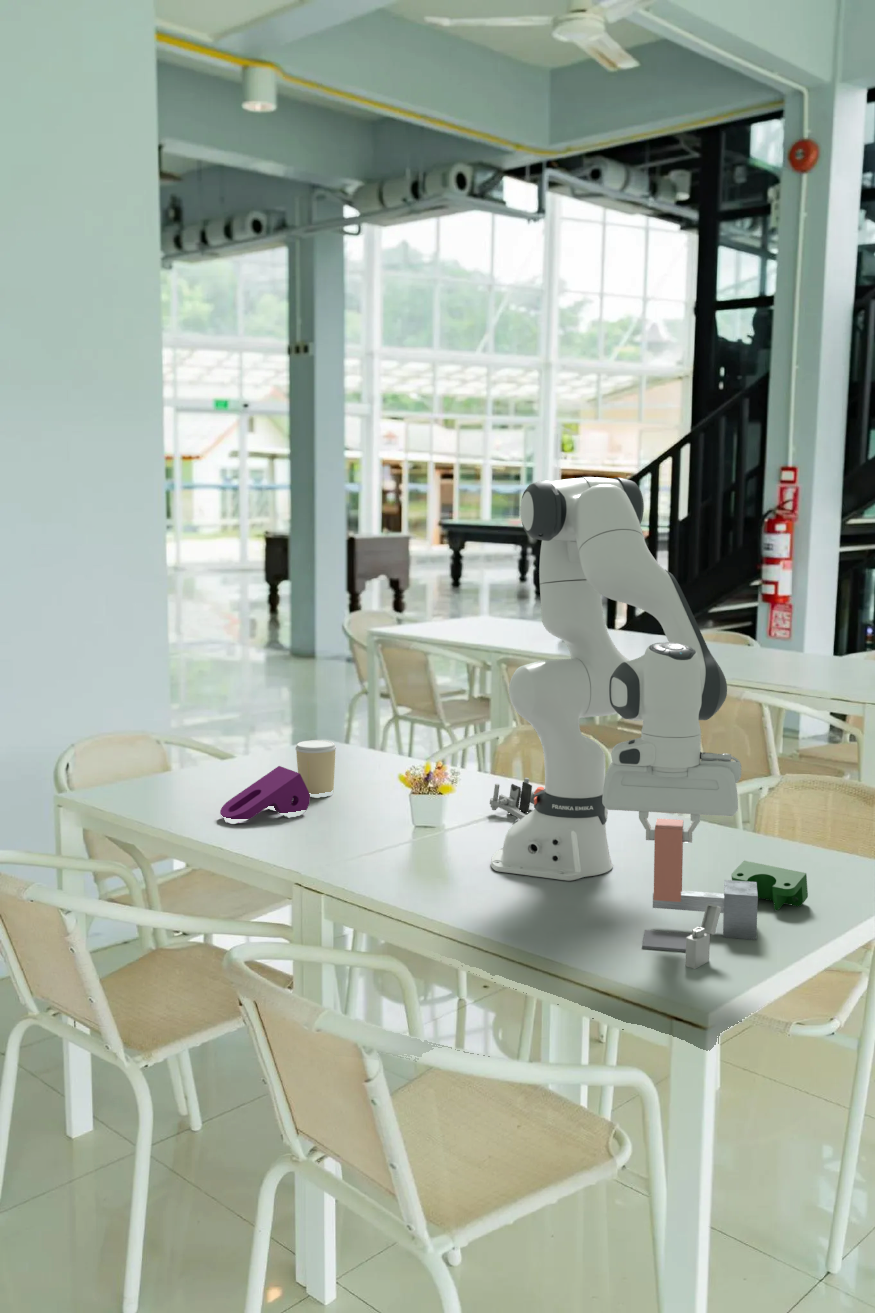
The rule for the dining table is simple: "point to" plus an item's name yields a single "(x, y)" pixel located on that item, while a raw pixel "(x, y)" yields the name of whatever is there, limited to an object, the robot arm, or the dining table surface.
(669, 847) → the tall salmon pink brick
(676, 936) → the mat
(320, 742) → the coffee cup
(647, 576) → the robot arm
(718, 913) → the lighter
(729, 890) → the vise
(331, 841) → the dining table surface
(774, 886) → the clamp
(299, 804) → the mounting bracket
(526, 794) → the bike brake
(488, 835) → the dining table surface
